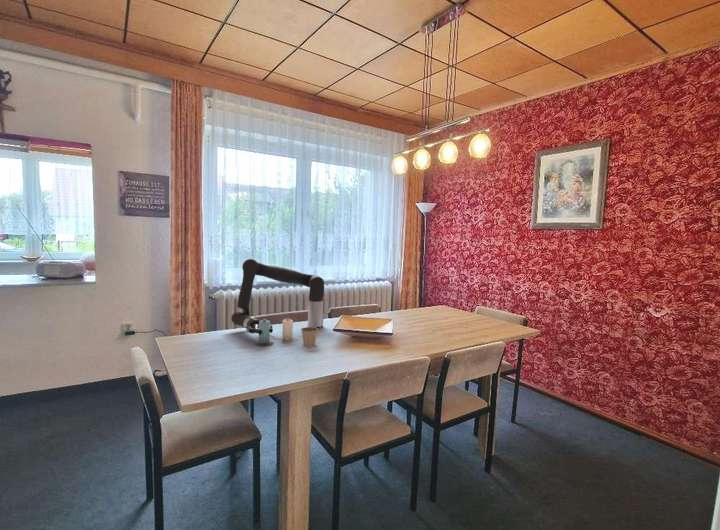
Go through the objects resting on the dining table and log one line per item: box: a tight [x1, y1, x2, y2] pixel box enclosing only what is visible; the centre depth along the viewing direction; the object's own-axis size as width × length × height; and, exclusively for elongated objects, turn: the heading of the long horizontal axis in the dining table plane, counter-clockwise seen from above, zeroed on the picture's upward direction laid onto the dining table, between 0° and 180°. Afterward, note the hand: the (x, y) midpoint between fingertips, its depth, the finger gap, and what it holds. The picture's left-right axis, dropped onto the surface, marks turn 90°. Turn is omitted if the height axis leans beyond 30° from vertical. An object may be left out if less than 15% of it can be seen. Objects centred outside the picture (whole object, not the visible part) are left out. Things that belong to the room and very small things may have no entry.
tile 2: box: [275, 336, 300, 344], centre depth 196 cm, size 10×10×1 cm
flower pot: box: [300, 326, 319, 347], centre depth 190 cm, size 9×9×9 cm
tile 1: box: [254, 334, 278, 341], centre depth 197 cm, size 10×10×1 cm
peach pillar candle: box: [281, 317, 294, 341], centre depth 195 cm, size 6×6×12 cm
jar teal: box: [258, 318, 271, 343], centre depth 186 cm, size 6×6×12 cm
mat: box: [253, 340, 275, 348], centre depth 186 cm, size 10×10×1 cm
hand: (266, 331), depth 184 cm, fingers closed on jar teal, 5 cm apart
